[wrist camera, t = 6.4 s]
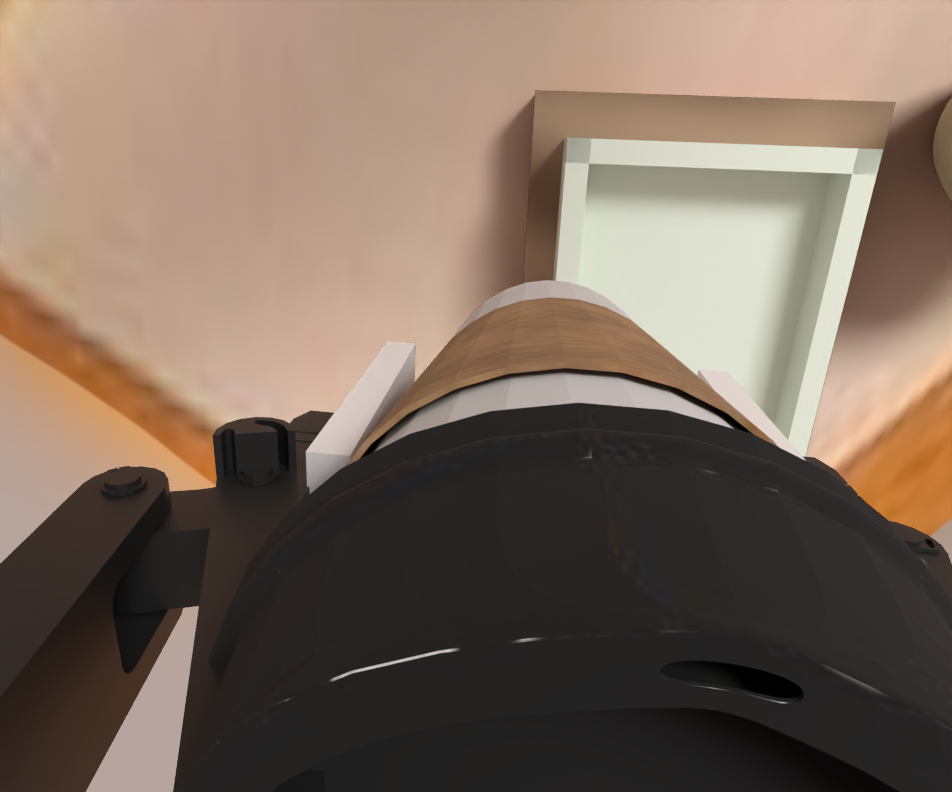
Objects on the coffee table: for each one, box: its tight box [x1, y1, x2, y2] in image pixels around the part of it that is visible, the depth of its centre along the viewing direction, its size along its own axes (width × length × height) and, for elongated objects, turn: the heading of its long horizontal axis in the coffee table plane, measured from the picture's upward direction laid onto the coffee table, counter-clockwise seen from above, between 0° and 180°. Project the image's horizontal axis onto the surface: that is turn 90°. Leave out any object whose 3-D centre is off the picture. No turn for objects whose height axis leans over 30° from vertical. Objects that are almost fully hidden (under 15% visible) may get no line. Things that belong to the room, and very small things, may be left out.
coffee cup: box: [178, 280, 952, 792], centre depth 12 cm, size 8×8×15 cm
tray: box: [553, 138, 883, 457], centre depth 31 cm, size 18×13×3 cm
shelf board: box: [523, 90, 896, 457], centre depth 34 cm, size 22×16×2 cm
